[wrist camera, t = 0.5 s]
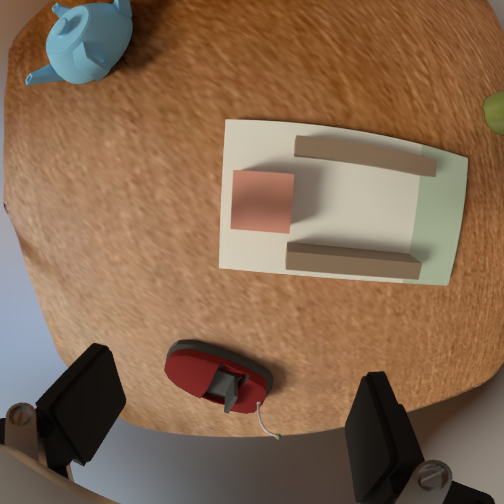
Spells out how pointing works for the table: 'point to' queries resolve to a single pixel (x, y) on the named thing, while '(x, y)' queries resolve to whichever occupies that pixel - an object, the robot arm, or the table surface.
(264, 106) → the table surface
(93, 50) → the teapot
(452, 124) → the table surface
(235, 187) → the block
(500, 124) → the plant pot
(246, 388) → the bumper car
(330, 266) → the board with rails
